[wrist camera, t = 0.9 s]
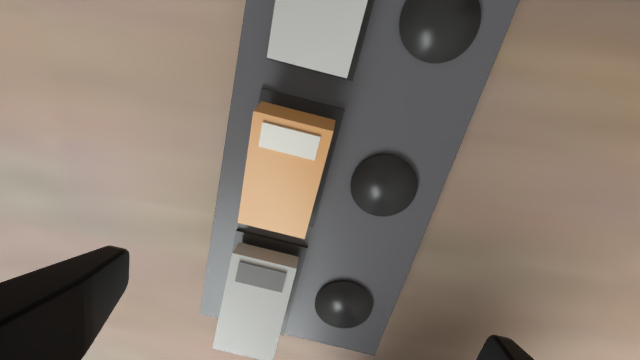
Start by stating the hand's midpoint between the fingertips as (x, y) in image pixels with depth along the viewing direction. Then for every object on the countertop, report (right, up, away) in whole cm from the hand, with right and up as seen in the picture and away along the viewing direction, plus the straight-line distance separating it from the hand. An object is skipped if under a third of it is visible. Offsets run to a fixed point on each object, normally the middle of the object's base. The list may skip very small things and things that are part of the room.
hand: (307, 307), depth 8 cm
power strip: (+1, +4, +11) cm, 12 cm away
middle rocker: (-1, +3, +7) cm, 8 cm away
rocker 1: (-3, -3, +10) cm, 11 cm away
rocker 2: (0, +9, +5) cm, 11 cm away
